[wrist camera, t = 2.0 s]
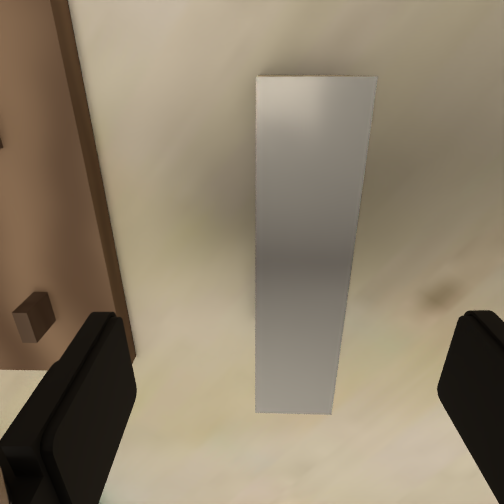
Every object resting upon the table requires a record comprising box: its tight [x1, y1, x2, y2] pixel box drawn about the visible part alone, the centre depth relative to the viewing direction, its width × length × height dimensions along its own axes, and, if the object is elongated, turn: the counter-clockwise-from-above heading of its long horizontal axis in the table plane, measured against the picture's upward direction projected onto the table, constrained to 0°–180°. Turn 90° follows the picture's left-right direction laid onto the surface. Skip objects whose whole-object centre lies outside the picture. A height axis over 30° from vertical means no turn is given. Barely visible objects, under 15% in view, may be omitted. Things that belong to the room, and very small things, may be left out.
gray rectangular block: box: [255, 75, 378, 415], centre depth 17 cm, size 4×14×7 cm, turn 0°
